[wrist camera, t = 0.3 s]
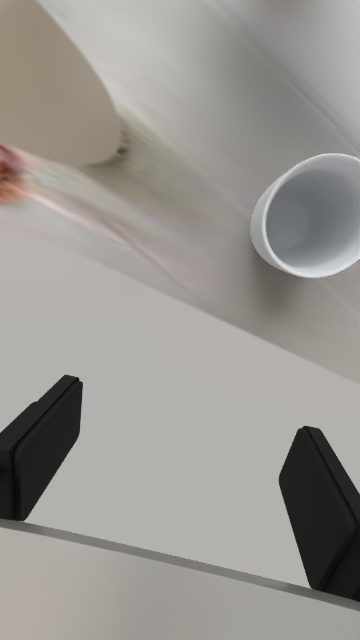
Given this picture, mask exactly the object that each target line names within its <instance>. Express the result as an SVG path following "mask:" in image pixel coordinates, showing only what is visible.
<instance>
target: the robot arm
mask: <svg viewBox="0 0 360 640" xmlns="http://www.w3.org/2000/svg"><path fill="white" fill-rule="evenodd" d="M82 389H83V383H82V382H80V381H79V378H78V377H74V376H69V375H64V376H63V377H62V378H61V379H60V380H59V381H58V382H57V383H56V384H55V385H54V386H53V387H52V388H51V389H49V391H47V393H45V394H44V395H43V396H42V397H41V398H40V399H39V400H38V401H37V402H33V403H32V404H30V405H29V406H28V407H27V408H26V409H25V410H24V411H23V412H22V413H21V414H20V415H19V416H18V417H17V418H16V419H15V420H13V421H12V422H11V423H10V424H9V425H8V426H7V427H6V428H5V429H4V430H3V431H2V432H1V433H0V640H360V494H359V492H358V491H357V489H356V488H355V486H354V484H353V483H352V481H351V479H350V478H349V476H348V474H347V473H346V471H345V469H344V468H343V466H342V464H341V463H340V461H339V459H338V458H337V456H336V454H335V453H334V451H333V449H332V448H331V446H330V444H329V443H328V441H327V440H326V438H325V436H324V435H323V433H322V431H321V430H320V429H318V428H314V427H309V426H303V428H302V429H301V428H300V429H298V431H297V433H296V436H295V438H294V441H293V443H292V446H291V448H290V450H289V453H288V456H287V458H286V460H285V463H284V465H283V468H282V470H281V473H280V476H279V485H280V489H281V492H282V496H283V499H284V502H285V506H286V509H287V512H288V516H289V519H290V522H291V525H292V529H293V532H294V536H295V539H296V542H297V545H298V549H299V552H300V556H301V559H302V562H303V566H304V569H305V572H306V576H307V579H308V582H309V585H310V587H311V588H312V589H310V588H306V587H302V586H298V585H294V584H290V583H286V582H281V581H277V580H273V579H269V578H265V577H261V576H257V575H252V574H248V573H244V572H240V571H236V570H231V569H227V568H223V567H219V566H215V565H211V564H206V563H202V562H198V561H194V560H189V559H185V558H181V557H177V556H172V555H168V554H163V553H160V552H155V551H151V550H147V549H142V548H138V547H133V546H129V545H125V544H121V543H116V542H111V541H107V540H103V539H98V538H94V537H90V536H85V535H81V534H77V533H72V532H68V531H63V530H59V529H54V528H49V527H44V526H39V525H34V524H29V523H25V522H20V521H24V520H25V519H26V518H27V517H28V515H29V514H30V512H31V511H32V509H33V508H34V506H35V504H36V503H37V501H38V500H39V498H40V497H41V495H42V494H43V492H44V490H45V489H46V487H47V486H48V484H49V483H50V481H51V479H52V478H53V476H54V475H55V473H56V472H57V470H58V469H59V467H60V465H61V464H62V462H63V461H64V459H65V458H66V456H67V454H68V453H69V451H70V450H71V448H72V447H73V445H74V444H75V442H76V440H77V438H78V436H79V432H80V420H81V404H82Z"/></svg>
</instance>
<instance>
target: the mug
mask: <svg viewBox="0 0 360 640" xmlns="http://www.w3.org/2000/svg"><path fill="white" fill-rule="evenodd" d="M250 223H251V224H250V235H251V240H252V243H253V246H254V247H255V250H256V251H257V252H258V254H259V255H260V256H261V257H262V258H263V259H264V260H265V261H266V262H267V263H269V264H270V265H272V266H274V267H276V268H277V269H280V270H282V271H284V272H286V273H290V274H292V275H295V276H299V277H303V278H322V277H327V276H331V275H334V274H337V273H339V272H341V271H343V270H345V269H347V268H349V267H350V266H351V265H353V264H354V263H356V262H357V261H358V260H359V259H360V155H358V156H357V157H353V156H350V155H346V154H339V153H330V154H322V155H318V156H315V157H312V158H309V159H307V160H305V161H302V162H301V163H299V164H297V165H296V166H294V167H293V168H291V169H290V170H289V171H287V172H286V173H285V174H283V175H282V176H280V177H279V178H278V179H277V180H276V181H275V182H274V183H273V184H271V185H270V187H269V188H268V189H267V190H266V191H265V192H264V194H263V195H262V196H261V198H260V199H259V200H258V202H257V204H256V206H255V208H254V211H253V213H252V217H251V221H250Z"/></svg>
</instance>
